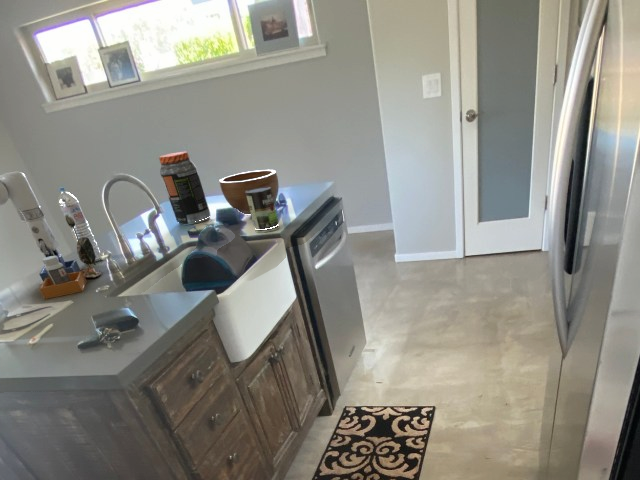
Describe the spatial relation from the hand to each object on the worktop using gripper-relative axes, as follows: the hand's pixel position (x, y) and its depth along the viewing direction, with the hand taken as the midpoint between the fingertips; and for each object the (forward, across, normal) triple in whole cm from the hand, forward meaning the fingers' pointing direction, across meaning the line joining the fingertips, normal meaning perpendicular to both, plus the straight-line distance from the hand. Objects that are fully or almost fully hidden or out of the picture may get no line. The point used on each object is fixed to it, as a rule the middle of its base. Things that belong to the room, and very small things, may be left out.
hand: (59, 269), depth 190 cm
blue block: (0, 0, 0) cm, 0 cm away
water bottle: (+3, +15, -10) cm, 18 cm away
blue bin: (+2, 0, 0) cm, 2 cm away
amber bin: (+2, -20, -4) cm, 21 cm away
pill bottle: (+2, -20, -4) cm, 20 cm away
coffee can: (+3, +9, -79) cm, 79 cm away
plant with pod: (+3, -8, -12) cm, 14 cm away
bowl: (+3, +40, -79) cm, 88 cm away
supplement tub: (+3, +54, -51) cm, 74 cm away
